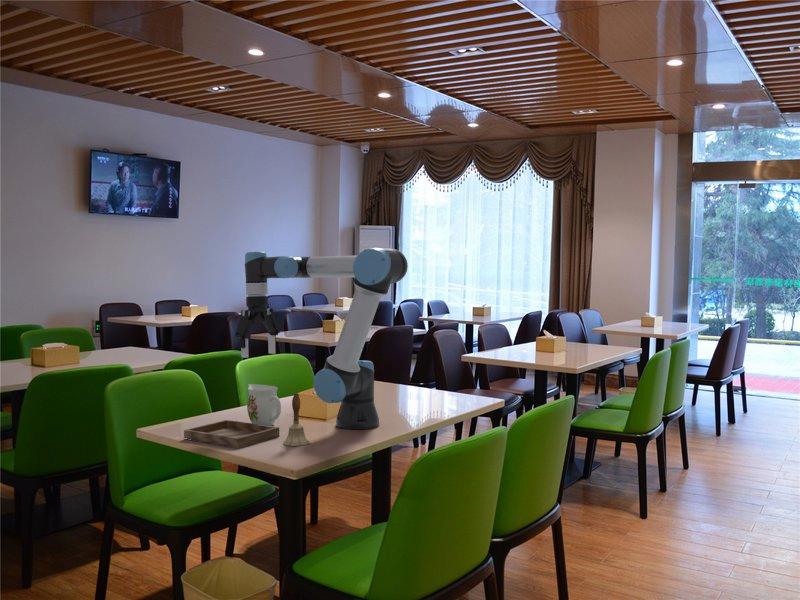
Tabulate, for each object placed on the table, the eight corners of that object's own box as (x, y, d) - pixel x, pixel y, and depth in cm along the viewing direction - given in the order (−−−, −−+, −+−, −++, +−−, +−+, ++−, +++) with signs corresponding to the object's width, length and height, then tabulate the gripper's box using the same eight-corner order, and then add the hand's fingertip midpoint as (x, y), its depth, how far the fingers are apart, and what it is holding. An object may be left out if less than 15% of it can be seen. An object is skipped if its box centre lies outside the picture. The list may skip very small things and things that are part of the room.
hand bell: (284, 440, 237) (283, 391, 237) (310, 440, 238) (309, 390, 237) (282, 446, 229) (281, 395, 228) (309, 446, 230) (308, 395, 229)
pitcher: (267, 431, 250) (266, 391, 250) (237, 424, 263) (236, 385, 262) (293, 426, 258) (292, 387, 257) (262, 419, 271) (262, 382, 270)
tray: (279, 436, 243) (279, 427, 243) (238, 448, 227) (237, 438, 227) (226, 428, 256) (226, 419, 256) (184, 439, 240) (183, 430, 240)
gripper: (273, 294, 273) (274, 351, 274) (223, 296, 253) (225, 358, 253) (288, 294, 269) (290, 352, 270) (238, 296, 248) (241, 359, 249)
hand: (258, 355), depth 262 cm, fingers open, 13 cm apart
